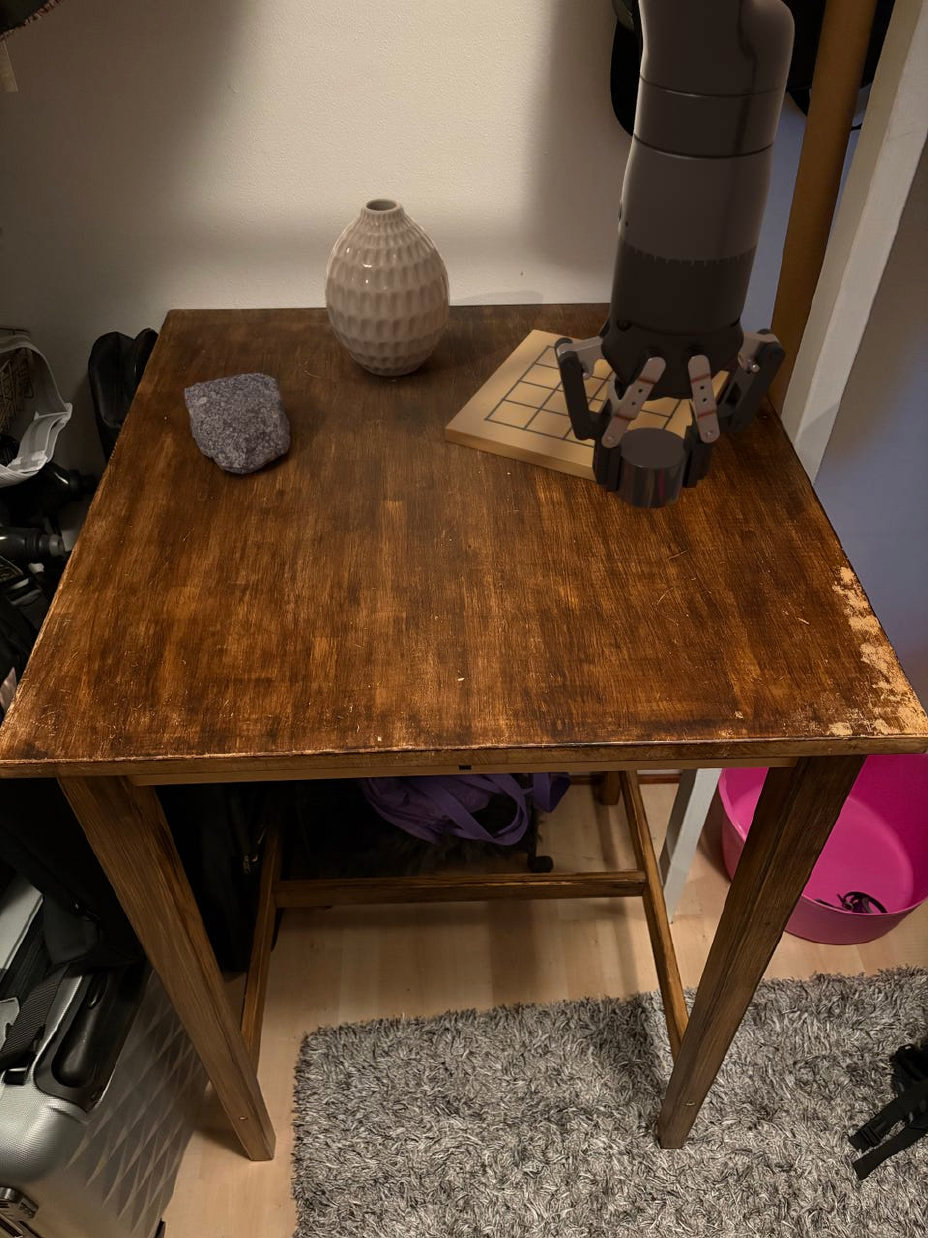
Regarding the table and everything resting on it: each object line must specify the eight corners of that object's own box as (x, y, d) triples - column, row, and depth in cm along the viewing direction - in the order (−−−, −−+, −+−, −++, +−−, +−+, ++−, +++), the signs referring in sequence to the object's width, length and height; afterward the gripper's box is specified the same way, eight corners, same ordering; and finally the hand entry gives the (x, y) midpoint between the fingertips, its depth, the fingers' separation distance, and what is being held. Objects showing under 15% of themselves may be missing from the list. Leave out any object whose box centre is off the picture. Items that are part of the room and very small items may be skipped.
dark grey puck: (691, 477, 62) (699, 437, 60) (670, 516, 59) (678, 475, 57) (624, 460, 63) (629, 420, 61) (600, 497, 60) (605, 457, 58)
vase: (469, 378, 96) (469, 218, 84) (353, 403, 93) (336, 240, 81) (426, 326, 105) (420, 173, 93) (318, 347, 101) (299, 191, 89)
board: (726, 384, 95) (729, 371, 94) (664, 500, 81) (667, 485, 80) (533, 341, 102) (533, 328, 101) (444, 440, 88) (444, 426, 87)
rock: (165, 389, 86) (260, 349, 89) (183, 433, 90) (273, 394, 93) (214, 454, 80) (314, 409, 83) (231, 498, 84) (326, 454, 87)
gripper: (568, 260, 46) (549, 524, 58) (843, 248, 47) (769, 511, 59) (547, 205, 51) (534, 457, 63) (795, 195, 52) (736, 446, 64)
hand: (647, 482), depth 61 cm, fingers closed on dark grey puck, 4 cm apart
